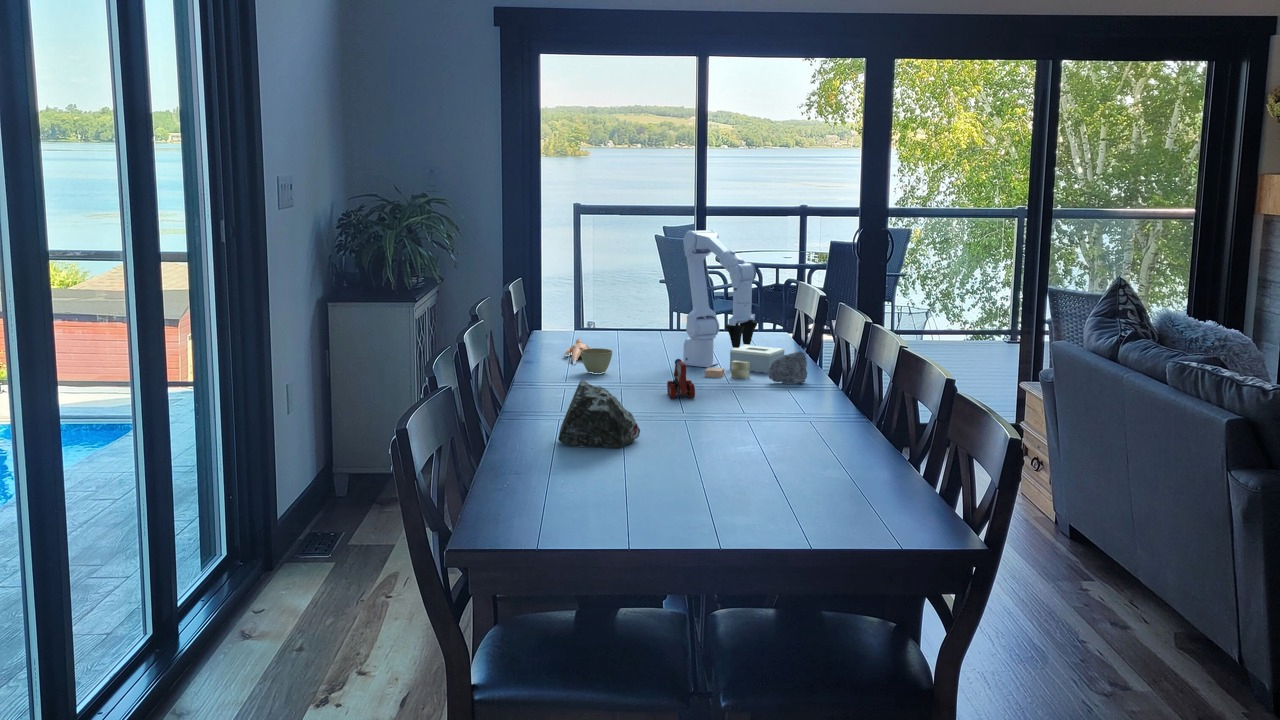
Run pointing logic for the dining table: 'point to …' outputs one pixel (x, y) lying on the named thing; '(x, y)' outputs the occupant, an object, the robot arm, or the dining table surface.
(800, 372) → the rock
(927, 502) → the dining table surface
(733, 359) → the box
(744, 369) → the block
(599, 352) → the flower pot
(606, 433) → the stone
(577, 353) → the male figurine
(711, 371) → the block
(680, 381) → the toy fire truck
